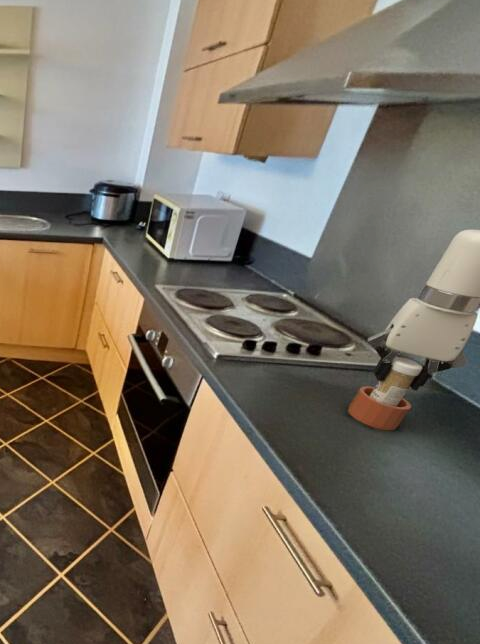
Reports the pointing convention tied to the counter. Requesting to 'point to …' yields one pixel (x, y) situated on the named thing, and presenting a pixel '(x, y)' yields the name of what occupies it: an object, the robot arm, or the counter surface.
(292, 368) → the counter surface
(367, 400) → the holder
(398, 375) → the sprinkles bottle
